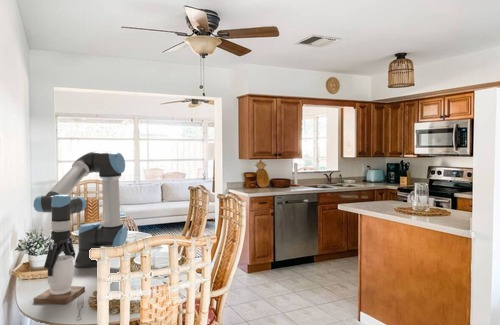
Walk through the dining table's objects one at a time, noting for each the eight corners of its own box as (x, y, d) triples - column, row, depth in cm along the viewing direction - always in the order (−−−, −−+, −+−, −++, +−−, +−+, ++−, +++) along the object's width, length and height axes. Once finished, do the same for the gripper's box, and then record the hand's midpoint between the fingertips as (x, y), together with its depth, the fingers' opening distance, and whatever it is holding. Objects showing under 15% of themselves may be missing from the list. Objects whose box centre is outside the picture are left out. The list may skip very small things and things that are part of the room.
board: (55, 289, 174) (55, 285, 174) (84, 290, 173) (84, 286, 173) (33, 302, 158) (33, 298, 158) (65, 304, 157) (65, 299, 157)
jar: (55, 287, 172) (55, 254, 171) (78, 288, 171) (78, 255, 171) (42, 296, 161) (42, 261, 161) (65, 296, 161) (66, 261, 160)
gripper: (68, 224, 178) (67, 269, 178) (34, 235, 153) (34, 287, 153) (83, 225, 178) (83, 269, 178) (52, 236, 153) (52, 288, 153)
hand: (60, 278), depth 166 cm, fingers open, 13 cm apart
